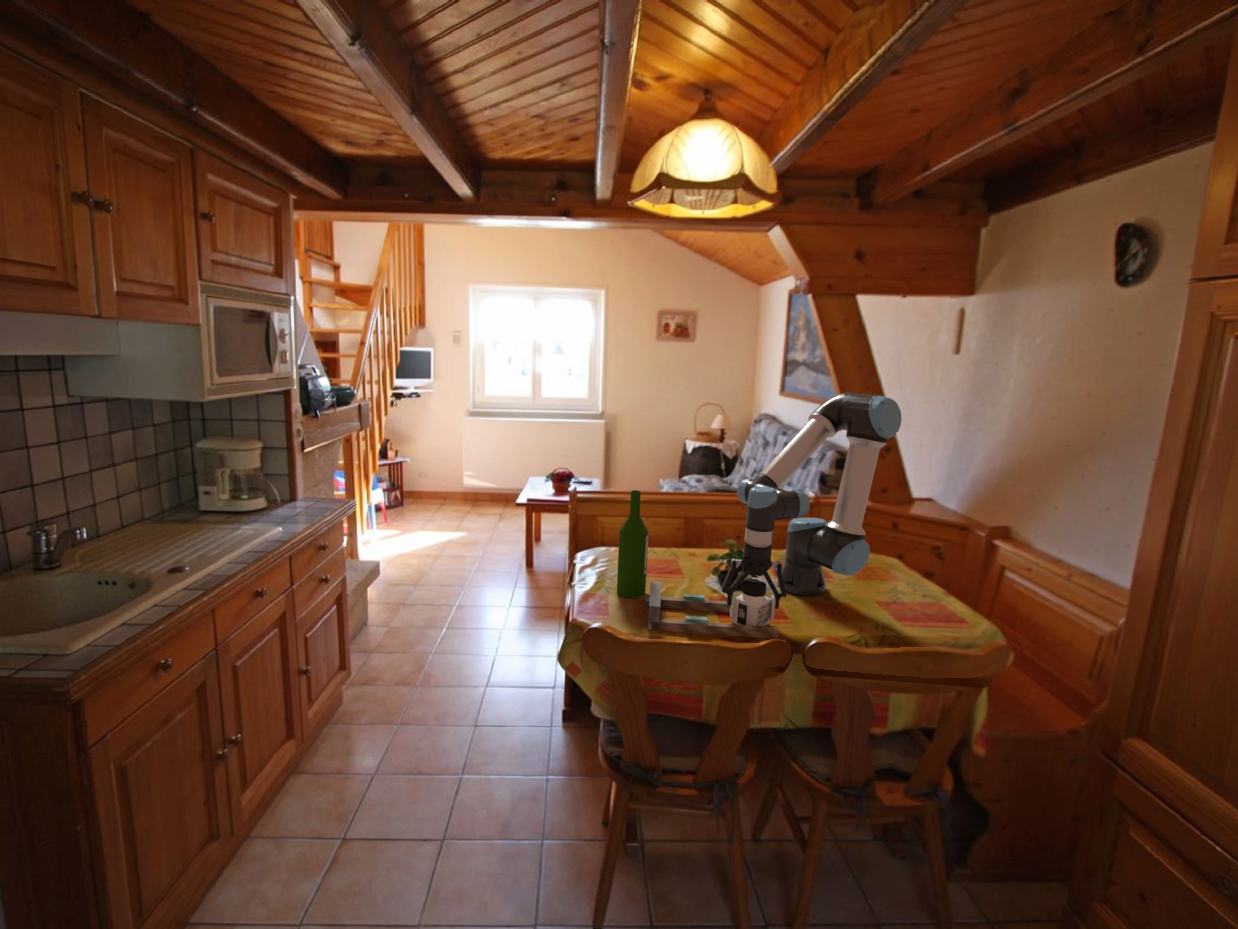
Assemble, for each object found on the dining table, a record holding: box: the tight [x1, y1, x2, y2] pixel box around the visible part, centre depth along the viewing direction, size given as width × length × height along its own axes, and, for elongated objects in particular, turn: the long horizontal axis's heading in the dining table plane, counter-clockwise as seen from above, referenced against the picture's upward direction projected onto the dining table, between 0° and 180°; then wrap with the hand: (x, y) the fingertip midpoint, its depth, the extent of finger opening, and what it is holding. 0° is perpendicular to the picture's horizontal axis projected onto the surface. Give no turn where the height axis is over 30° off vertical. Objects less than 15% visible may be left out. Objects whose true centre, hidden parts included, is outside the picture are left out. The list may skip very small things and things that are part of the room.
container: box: [732, 577, 772, 627], centre depth 177 cm, size 8×8×13 cm
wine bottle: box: [616, 490, 649, 599], centre depth 193 cm, size 9×9×32 cm
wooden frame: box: [644, 581, 779, 640], centre depth 179 cm, size 36×17×7 cm, turn 86°
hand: (751, 617), depth 178 cm, fingers closed on container, 10 cm apart
